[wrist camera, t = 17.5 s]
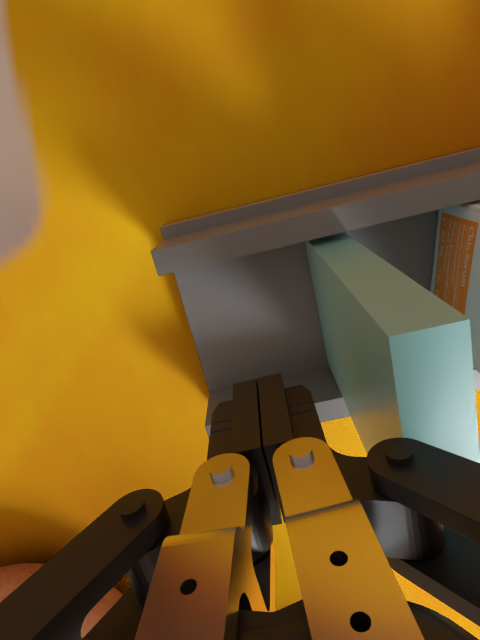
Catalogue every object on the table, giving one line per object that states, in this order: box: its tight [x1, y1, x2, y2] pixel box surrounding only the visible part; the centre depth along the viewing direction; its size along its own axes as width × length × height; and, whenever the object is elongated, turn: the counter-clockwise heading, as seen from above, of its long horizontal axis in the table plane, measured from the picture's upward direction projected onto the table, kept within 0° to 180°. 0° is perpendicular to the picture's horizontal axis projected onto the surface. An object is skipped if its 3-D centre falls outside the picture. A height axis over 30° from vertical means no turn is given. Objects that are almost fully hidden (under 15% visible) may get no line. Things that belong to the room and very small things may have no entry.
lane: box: [151, 147, 480, 437], centre depth 18 cm, size 10×25×6 cm, turn 104°
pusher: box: [305, 232, 480, 526], centre depth 15 cm, size 6×2×12 cm, turn 13°
